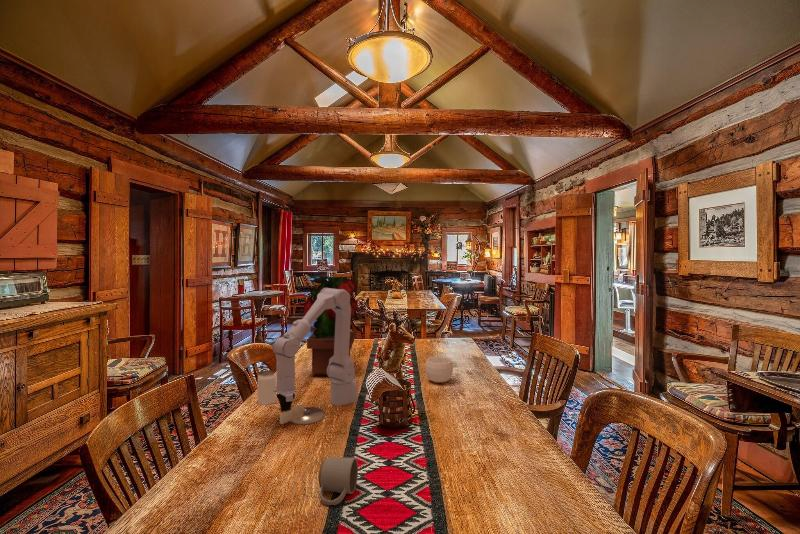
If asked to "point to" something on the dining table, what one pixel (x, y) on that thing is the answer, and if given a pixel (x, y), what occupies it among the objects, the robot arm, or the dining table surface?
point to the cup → (439, 369)
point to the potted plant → (327, 323)
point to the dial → (301, 415)
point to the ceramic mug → (338, 477)
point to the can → (266, 387)
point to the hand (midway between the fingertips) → (285, 415)
